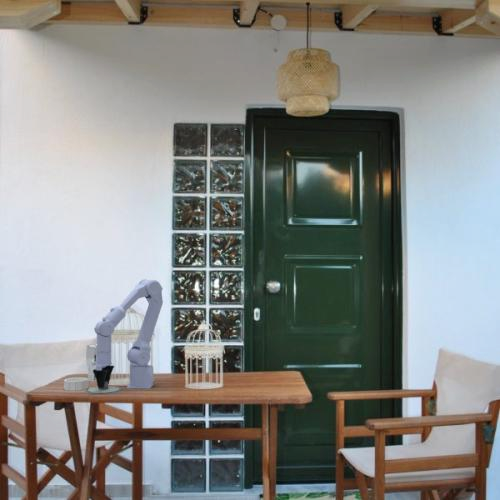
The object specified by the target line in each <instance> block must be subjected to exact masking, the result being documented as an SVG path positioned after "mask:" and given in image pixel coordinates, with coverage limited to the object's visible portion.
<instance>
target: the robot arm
mask: <svg viewBox="0 0 500 500" xmlns="http://www.w3.org/2000/svg"><path fill="white" fill-rule="evenodd" d="M162 292H163V286H162V285H161V283H160V282H159V281H158V280H157V279H152V280H151V279H141V280H140V281H139V282H138V283H137V284H136V285H135V286H134V288H133V289H132V290H131V292H130V293H129V294H128V295H127V297H126V298H125V299H124V300H123V301H122V302H121V304H119V305H118V306H114V307H111V308H110V309H109V310H110V311H109V312H108V313H107V314H106V315H105V317H102V318H101V320H99V321H98V322H97V323H96V324H95V327H94V333H95V334H96V345H97V356H96V362H94V363H93V364H94V365H96V369H94V370H93V373H94V375H95V377H96V381H95V382H96V384H97V385H96V386H98V388H104V384H105V381H108V385H110V380H111V376H112V372H113V371H114V368H115V365H112V364H113V363H112V335H113V334H114V332H115V328H116V327H117V326H118V325H119V324H120V323H121V322H122V320H123V319H124V318H125V317H126V312H127V311H128V310H129V309H130V308H131V307H132V306H133V305H134V304H135V303H136V302H137V301H138V300H139V299H142V298H145V299H146V301H147V303H148V305H147V309H146V312H145V315H144V318H143V321H142V323H141V327H140V330H139V333H138V335H137V339H136V340H135V341H134V342H133V343H132V346H131V348H129V350H128V352H127V354H126V355H127V356H126V357H127V360H128V361H129V385H127V386H126V389H151V388H152V387H153V386H154V366H153V365H150V364H149V362H150V361H151V351H152V347H151V345H150V343H151V341H152V337H153V334H154V331H155V328H156V325H157V322H158V319H159V315H160V314H161V313H160V312H161V310H162V307H163V303H164V301H163V295H162V294H163V293H162Z"/></svg>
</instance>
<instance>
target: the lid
mask: <svg viewBox="0 0 500 500" xmlns="http://www.w3.org/2000/svg"><path fill="white" fill-rule="evenodd" d="M87 390H88V392H91V393H112V392H116V391H119V386H116V385H115V386H114V385H109V384H108V381H105V384H104V388H98V385H96V386H91V387H88V388H87ZM119 392H120V391H119Z"/></svg>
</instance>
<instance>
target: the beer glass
mask: <svg viewBox="0 0 500 500" xmlns="http://www.w3.org/2000/svg"><path fill="white" fill-rule="evenodd" d="M85 353H86V354H85V360H86V367H87V379H88V382H97V381H96V377H95V375H94V373H93V370H94V369H96V365H94V364H93V363H94V362H96V356H97V344H89V345H86V352H85Z"/></svg>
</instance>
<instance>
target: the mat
mask: <svg viewBox="0 0 500 500" xmlns="http://www.w3.org/2000/svg"><path fill="white" fill-rule="evenodd" d="M118 387H119V386H118ZM122 389H124V386H122V387H121V386H120V387H119V391H116V392H112V393H91V392H88V389H86V390H84V391H83V393H82V394H84V395H85V394H90V395H91V394H92V395H93V394H94V395H95V394H97V395H99V394H101V395H116V394H118V393H119V392H121V390H122Z"/></svg>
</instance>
